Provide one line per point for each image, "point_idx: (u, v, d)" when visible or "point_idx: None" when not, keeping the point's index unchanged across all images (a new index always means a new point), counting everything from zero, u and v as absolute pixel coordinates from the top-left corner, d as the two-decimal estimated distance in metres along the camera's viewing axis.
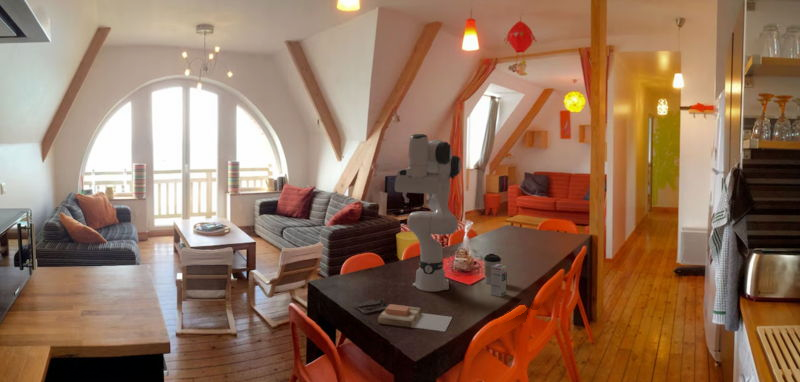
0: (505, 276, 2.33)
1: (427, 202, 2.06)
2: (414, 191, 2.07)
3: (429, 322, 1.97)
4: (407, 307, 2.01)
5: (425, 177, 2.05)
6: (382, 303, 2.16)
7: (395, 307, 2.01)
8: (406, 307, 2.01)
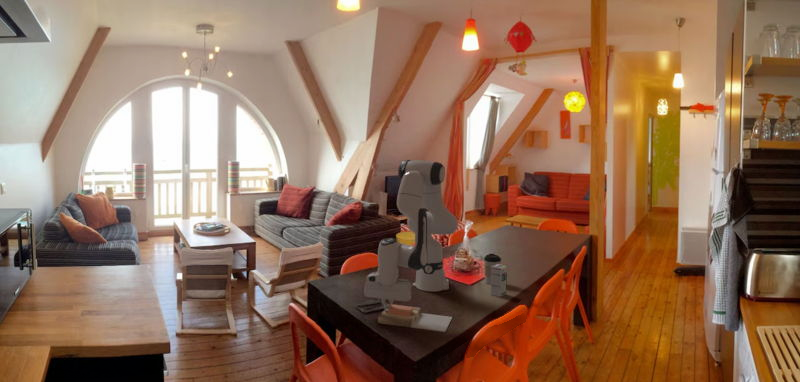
0: (505, 276, 2.33)
1: (388, 308, 2.01)
2: (383, 297, 2.01)
3: (429, 322, 1.97)
4: (410, 307, 2.01)
5: (395, 284, 1.99)
6: None
7: (398, 308, 2.01)
8: (409, 307, 2.01)
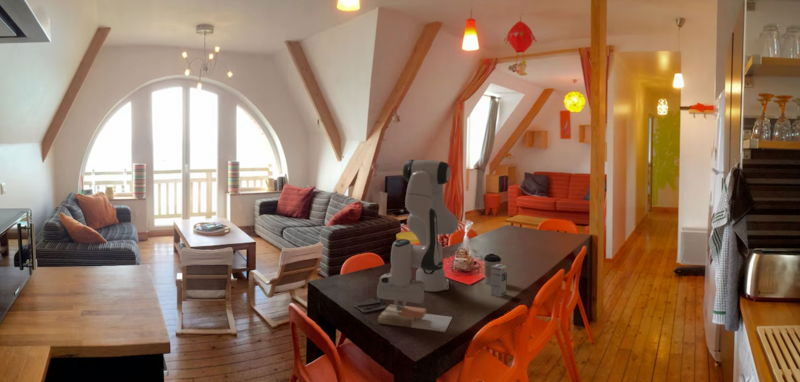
0: (505, 276, 2.33)
1: (401, 309, 2.00)
2: (396, 299, 1.99)
3: (429, 322, 1.97)
4: (423, 309, 1.99)
5: (408, 285, 1.97)
6: (381, 302, 2.17)
7: (411, 309, 1.99)
8: (422, 309, 1.99)
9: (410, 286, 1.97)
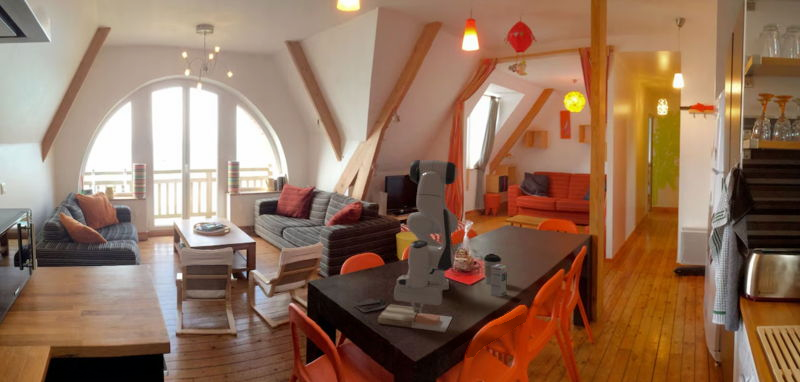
0: (505, 276, 2.33)
1: (418, 311, 1.98)
2: (414, 301, 1.97)
3: None
4: (437, 316, 1.98)
5: (426, 287, 1.95)
6: (381, 302, 2.17)
7: (425, 316, 1.97)
8: (436, 316, 1.98)
9: (428, 288, 1.94)
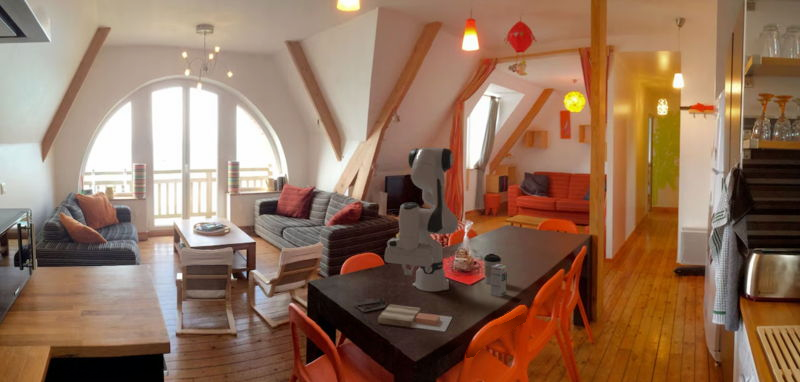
0: (505, 276, 2.33)
1: (409, 273, 1.97)
2: (405, 262, 1.96)
3: None
4: (437, 316, 1.98)
5: (416, 249, 1.94)
6: (381, 302, 2.18)
7: (425, 316, 1.97)
8: (436, 316, 1.98)
9: (418, 249, 1.94)
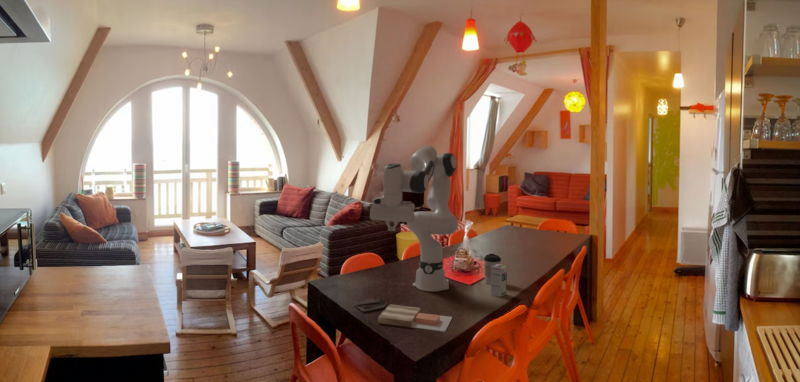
0: (505, 276, 2.33)
1: (392, 229, 2.13)
2: (388, 219, 2.12)
3: None
4: (437, 316, 1.98)
5: (399, 206, 2.10)
6: (381, 302, 2.18)
7: (425, 316, 1.97)
8: (436, 316, 1.98)
9: (401, 206, 2.10)
